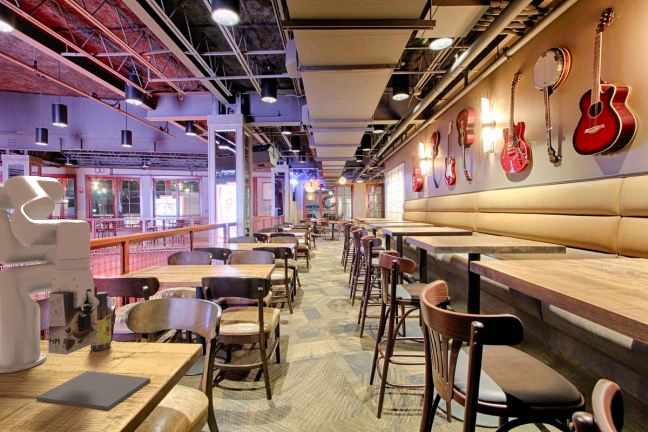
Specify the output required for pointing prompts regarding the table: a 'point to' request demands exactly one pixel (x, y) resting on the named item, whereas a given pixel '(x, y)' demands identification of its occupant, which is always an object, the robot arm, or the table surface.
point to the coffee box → (68, 324)
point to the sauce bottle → (103, 323)
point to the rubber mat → (94, 390)
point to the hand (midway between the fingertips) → (74, 328)
